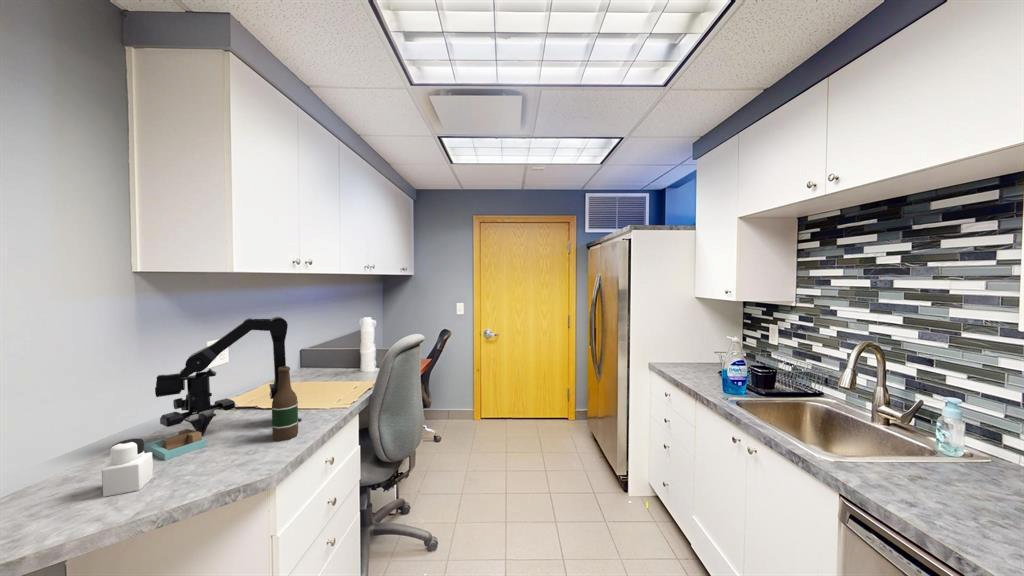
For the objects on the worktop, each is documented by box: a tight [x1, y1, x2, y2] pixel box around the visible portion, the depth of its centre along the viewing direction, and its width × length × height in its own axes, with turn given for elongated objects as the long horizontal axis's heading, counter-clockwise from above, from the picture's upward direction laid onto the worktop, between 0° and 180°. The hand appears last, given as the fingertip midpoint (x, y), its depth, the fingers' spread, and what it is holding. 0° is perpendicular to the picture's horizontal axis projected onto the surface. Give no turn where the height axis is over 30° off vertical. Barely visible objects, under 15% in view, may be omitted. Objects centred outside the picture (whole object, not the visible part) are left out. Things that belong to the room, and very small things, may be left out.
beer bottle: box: [271, 365, 299, 442], centre depth 126 cm, size 8×8×24 cm
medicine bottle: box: [101, 438, 154, 497], centre depth 97 cm, size 7×7×12 cm
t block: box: [162, 428, 203, 450], centre depth 119 cm, size 8×8×4 cm
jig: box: [144, 434, 208, 461], centre depth 119 cm, size 14×10×2 cm
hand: (200, 436), depth 124 cm, fingers closed
